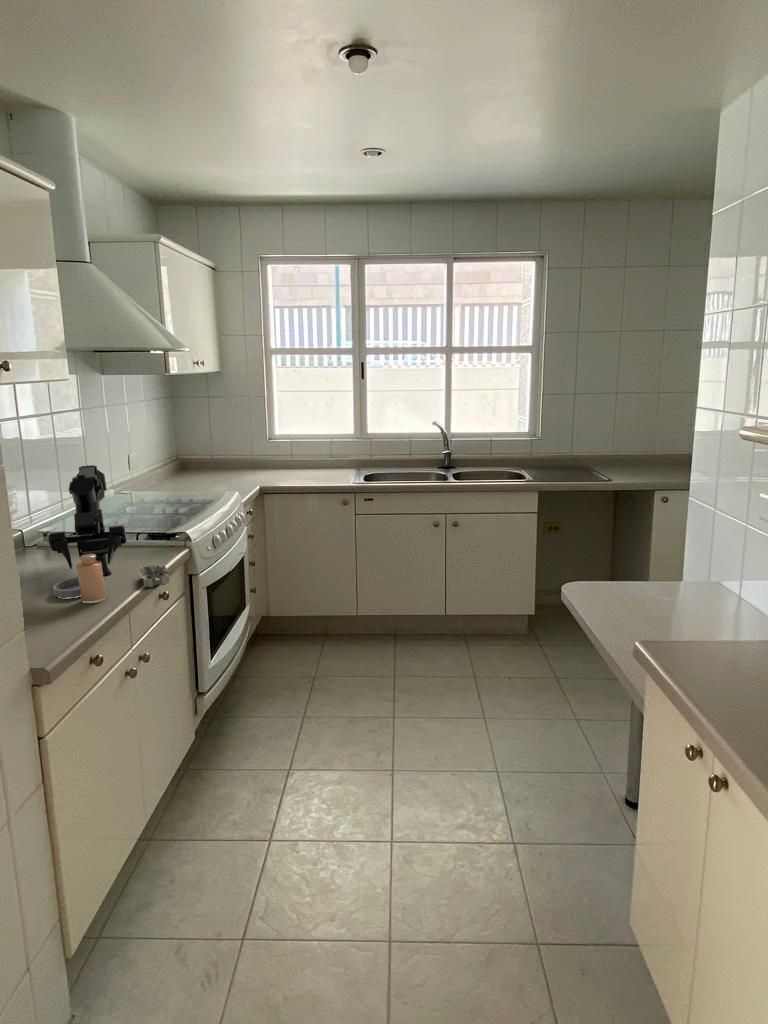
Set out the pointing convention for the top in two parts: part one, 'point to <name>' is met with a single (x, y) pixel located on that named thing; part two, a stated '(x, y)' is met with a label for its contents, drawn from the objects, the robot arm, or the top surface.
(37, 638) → the top surface
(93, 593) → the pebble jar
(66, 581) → the slate bowl
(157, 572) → the egg carton
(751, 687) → the top surface
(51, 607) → the top surface
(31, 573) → the top surface
